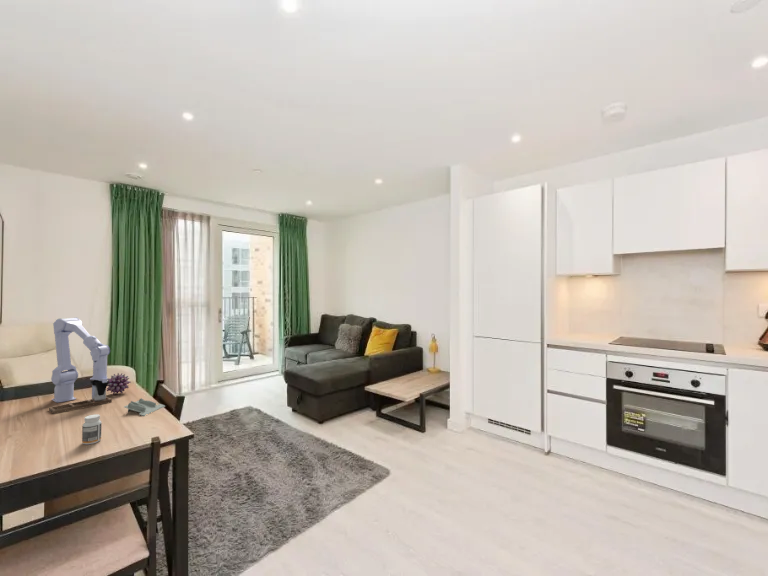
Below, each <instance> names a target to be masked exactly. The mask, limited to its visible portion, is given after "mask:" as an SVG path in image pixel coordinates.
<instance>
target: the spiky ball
mask: <svg viewBox="0 0 768 576" xmlns="http://www.w3.org/2000/svg"><path fill="white" fill-rule="evenodd" d="M125 375H126V374H125V373H119V372H117V374H116V373H114V374H113V375H110V378H109V377H107V381H109V383H108V385H107V387H106V392H110V393H112V394H113V395H115V393H116V394H117V393H118V394H119V393H121V394H122V393H123V392H125V390H126V389H129V388H130V387H129V384H131V383H132V382H131V381H129V379H130V377H129V376H128V375H126V376H125Z"/></svg>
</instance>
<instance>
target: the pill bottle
mask: <svg viewBox="0 0 768 576" xmlns="http://www.w3.org/2000/svg"><path fill="white" fill-rule="evenodd" d="M100 419H101V415H100V414H98V413H97V414H90V415H87V416H85V417H84V423H83V424H82V428H81V429H82V431H81V433H82V434H81V439H82V440H81V443H82V444H83V445H94V444H96V443H99V442H100V441H101V440H102V424H103V423H102V420H100Z"/></svg>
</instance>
